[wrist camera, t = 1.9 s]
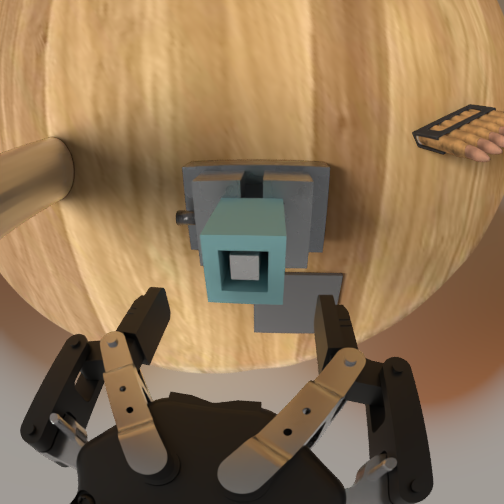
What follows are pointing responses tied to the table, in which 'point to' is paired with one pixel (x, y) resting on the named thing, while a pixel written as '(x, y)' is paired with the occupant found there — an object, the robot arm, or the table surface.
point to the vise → (260, 186)
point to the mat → (297, 303)
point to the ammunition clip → (465, 133)
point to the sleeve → (245, 239)
